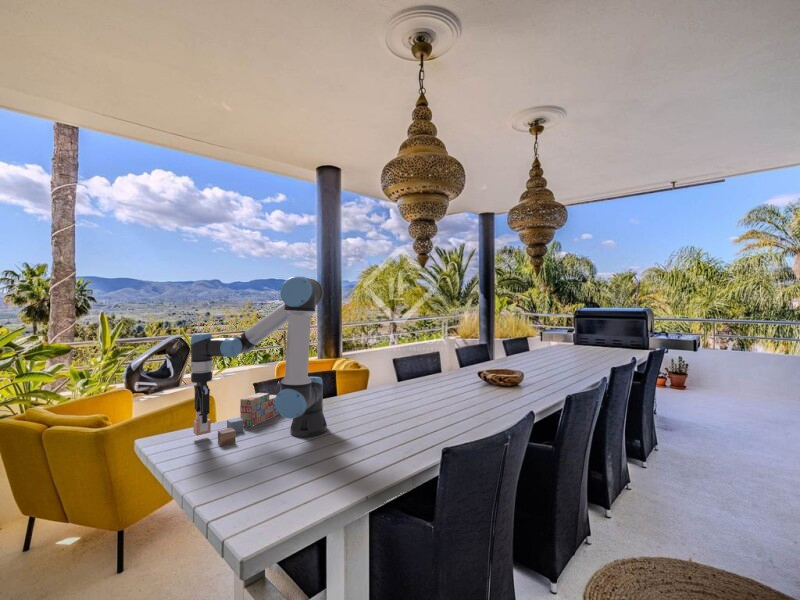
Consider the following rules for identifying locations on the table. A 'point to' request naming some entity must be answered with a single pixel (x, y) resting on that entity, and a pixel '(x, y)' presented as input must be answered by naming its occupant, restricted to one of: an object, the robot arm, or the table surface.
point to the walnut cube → (226, 437)
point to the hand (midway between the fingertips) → (202, 429)
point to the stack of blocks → (257, 408)
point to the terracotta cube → (197, 427)
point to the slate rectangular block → (235, 424)
